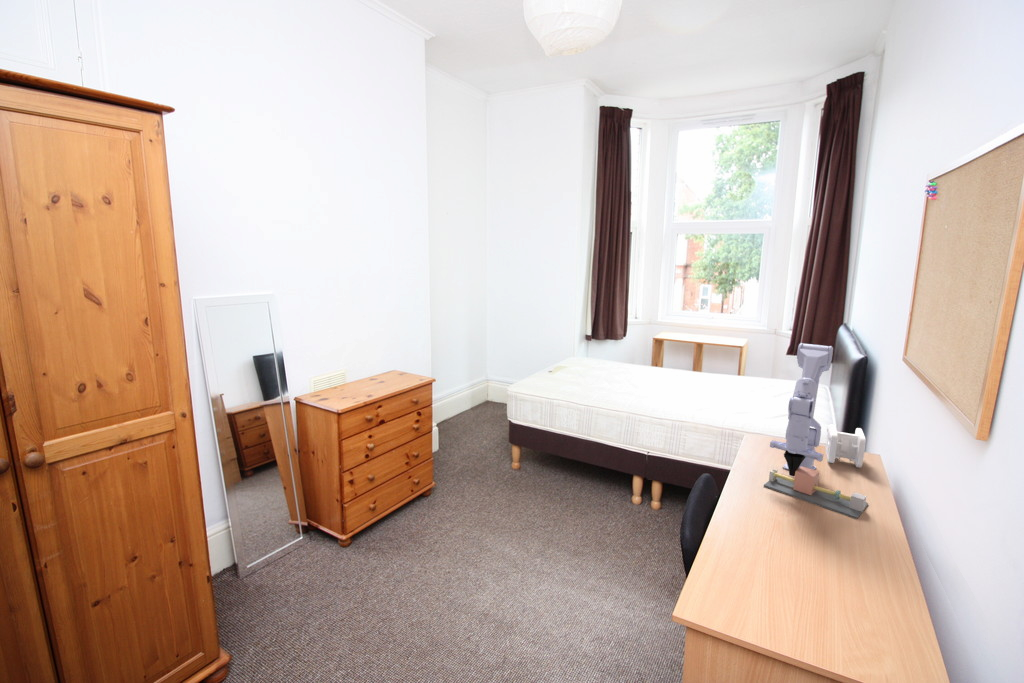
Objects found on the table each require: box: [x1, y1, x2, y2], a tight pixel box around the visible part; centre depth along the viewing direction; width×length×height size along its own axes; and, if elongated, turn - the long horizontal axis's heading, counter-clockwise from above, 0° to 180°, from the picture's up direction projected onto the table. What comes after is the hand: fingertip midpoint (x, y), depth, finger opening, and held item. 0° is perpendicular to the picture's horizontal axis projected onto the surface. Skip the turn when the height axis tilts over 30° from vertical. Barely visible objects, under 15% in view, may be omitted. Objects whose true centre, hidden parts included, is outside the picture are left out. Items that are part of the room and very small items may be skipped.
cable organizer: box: [824, 424, 867, 468], centre depth 169 cm, size 15×11×12 cm
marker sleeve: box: [793, 466, 820, 495], centre depth 145 cm, size 6×5×6 cm
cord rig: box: [763, 468, 869, 520], centre depth 144 cm, size 12×25×4 cm, turn 42°
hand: (792, 474), depth 148 cm, fingers closed
